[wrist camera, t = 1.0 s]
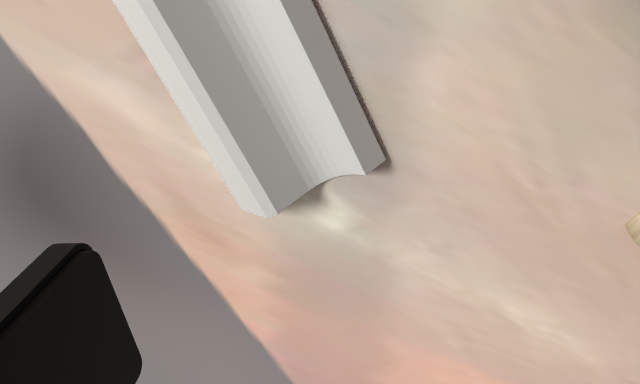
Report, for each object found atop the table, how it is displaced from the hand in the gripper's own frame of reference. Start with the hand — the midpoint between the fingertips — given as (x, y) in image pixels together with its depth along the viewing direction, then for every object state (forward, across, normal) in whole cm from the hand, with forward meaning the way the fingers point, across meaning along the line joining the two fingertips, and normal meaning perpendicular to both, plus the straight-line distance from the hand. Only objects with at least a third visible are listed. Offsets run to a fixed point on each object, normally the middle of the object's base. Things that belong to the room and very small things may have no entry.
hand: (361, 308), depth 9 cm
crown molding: (+27, +13, -3) cm, 30 cm away
